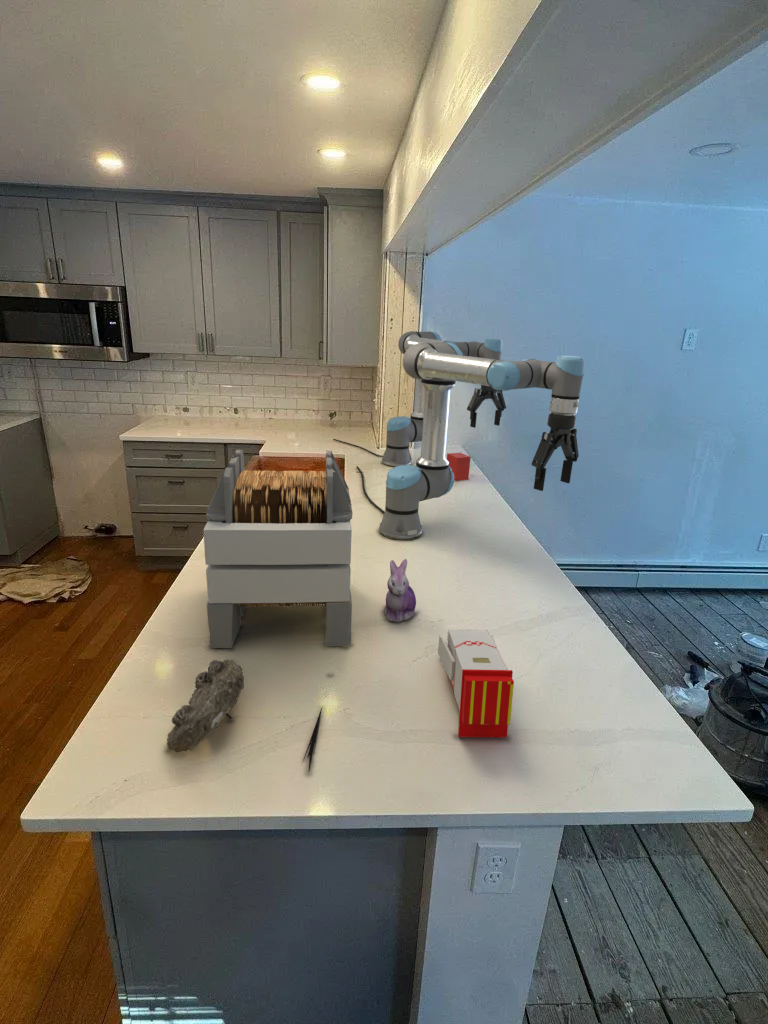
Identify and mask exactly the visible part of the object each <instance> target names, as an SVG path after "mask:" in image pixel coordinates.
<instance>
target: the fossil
mask: <svg viewBox="0 0 768 1024" xmlns="http://www.w3.org/2000/svg"><path fill="white" fill-rule="evenodd" d="M243 670H244V669H243V667H242V665H240V664H237V662H236V661H235V660H234V659H232V658H231V659H227V658H226V659H224V660H223V661H222V660H217V659H212V660H211V661H210V663H209V665H208V666H207V671H201V672H199V673H198V674H197V675H196V676H195V680H194V684H195V685H194V687H195V689H194V690H193V693H192V694H191V697H190V698H189V700H188V704H184V705H182V706H181V707H180V709H177V710H176V711H175V713H174V715H173V716H172V718H171V723H172V724H173V727H172V730H171V731H170V732H168V734H167V738H166V741H167V742H166V745H167V749H168V750H169V751H173V752H174V753H176V754H178V753H182V752H188V751H189V752H192V751H193V750H195V748H196V747H197V746H199V744H200V743H201V742H203V741H204V740H205V739H206V738H207V737H208V736H209V735H210V734H211V733H212V732H214V730H215V729H217V727H218V726H219V724H220V722H221V721H222V720H223V719H224V718H225V716H226V717H227V719H229V720H233V717H232V715H230V714H229V710H230V709H231V708H234V706H235V704H236V703H237V702H238V699H239V697H240V695H241V693H242V691H243V690H245V689H244V688H245V675H244V671H243Z"/></svg>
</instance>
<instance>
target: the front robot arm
mask: <svg viewBox="0 0 768 1024" xmlns="http://www.w3.org/2000/svg"><path fill="white" fill-rule="evenodd" d="M585 361H586V360H585V359H584V358H583V357H582V356H577V355H576V356H575V355H558V356H556V359H555V361H548V360H541V359H536V358H524V359H521V360H502V359H501V360H495V359H487V358H479V357H471V356H463V354H462V352H461V351H460V349H459V348H458V347H457V346H456V345H454V344H452V343H445V342H436V343H417V344H414V345H412V346H410V347H409V348H408V349H407V350H406V352H405V354H403V357H402V367H403V369H404V372H405V373H406V374H407V375H408V376H409V377H410V378H412V379H414V380H416V379H421V384H422V385H423V386H424V387H425V401H424V417H423V432H422V441H421V450H420V456H419V457H418V458H417V459H416V461H415V465H413V464H411V465H405V466H404V465H401V466H396V467H391V468H390V469H389V470H388V472H387V474H386V479H385V504H384V505H385V507H384V508H385V509H384V510H383V509H382V507H380V506H379V505H377V504H376V503H375V502H373V500H372V499H371V498H370V496H369V495H368V493H367V491H366V488H365V479H364V478H365V477H364V474H363V471H362V470H361V468H360V467H359V466H357V465H356V469H357V470H358V472H359V473H360V477H361V484H362V486H361V487H362V491H363V493H364V495H365V497H366V499H367V500H368V501H369V502H370V504H372V506H373V507H375V509H377V510H378V511H380V512H381V513H382V514H383V515H382V519H381V522H379V526H378V533H379V534H380V535H381V536H382V537H385V538H387V539H389V540H395V541H410V540H415V539H418V538H420V537H421V536H422V535H423V525H422V524H421V518H420V515H419V507H420V506H419V505H420V502H423V501H427V500H431V499H437V498H440V497H443V496H446V495H447V494H448V493H450V492H451V490H452V489H453V486H454V483H455V480H454V474H453V472H452V469H451V467H450V466H449V462H448V461H447V457H446V451H447V437H448V425H449V413H450V399H451V390H452V389H453V388H454V387H455V386H456V382H460V383H465V384H472V385H479V386H481V385H484V386H491V387H492V388H493V389H495V390H502V391H503V392H506V391H511V390H521V389H532V388H533V389H534V388H538V389H545V390H551V395H550V396H551V397H550V403H549V408H548V410H549V413H548V418H547V423H546V424H547V426H548V427H549V428H550V429H549V432H548V431H543V432H542V433H541V440H540V442H539V444H538V446H537V449H536V452H535V454H534V457H533V459H532V461H531V466H532V467H535V473H534V481H533V489H534V490H537V491H539V492H543V491H544V487H545V481H546V474H547V468H546V466H547V465H548V463H549V460H550V459H551V457H552V455H553V453H554V452H555V451H556V450H557V449H558V448H561V451H562V454H563V455H564V458H565V459H563V462H562V468H561V473H560V474H561V475H560V479H559V480H560V482H562V483H566V484H570V483H571V477H572V470H573V464H574V463H576V462H577V461H578V458H579V456H580V455H579V447H578V439H577V433H578V429H577V428H575V427H576V423H577V417H578V416H577V415H576V414H577V413H578V408H579V406H580V404H579V402H580V395H581V390H582V384H583V378H584V375H585V364H586V363H585Z"/></svg>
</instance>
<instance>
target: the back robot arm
mask: <svg viewBox="0 0 768 1024" xmlns="http://www.w3.org/2000/svg"><path fill="white" fill-rule="evenodd" d="M484 339H485V340H484V342H479V341H451V340H443V339H442V337H441V335H440V334H439V333H438V332H436V331H415V330H413V331H412V330H410V331H406V332H404V333H403V334H402V335H401V336H400V337H399V339H398V341H397V345H398V346H397V347H398V350H399V352H400V353H401V354H402V355H404V354H405V352H406V350H407V349H408V348H409V347H410V346H412V345H414V344H417V343H436V342H445V343H452V344H454V345H456V346H457V347H458V348H459V349H460V351H461V352H462V354H463V356H471V357H479V358H487V359H495V360H502V354H503V340H502V339H500V338H484ZM414 384H415V386H414V401H413V404H414V405H413V411H412V413H410V417H409V416H404V415H403V416H399V415H398V416H394V417H393V416H392V417H391V418H389V419H388V421H387V422H386V423H387V424H386V441H385V442H386V444H385V450H384V453H383V455H380V454H377V453H375V452H373V451H370V450H368V449H367V448H364V447H363V446H359V445H356V444H353V443H350V442H347V441H342V440H339V439H337V438H333V441H335V442H338V443H343V444H345V445H350V446H353V447H356V448H358V449H361V450H364V451H365V452H368V453H370V454H372V455H374V456H376V457H380V458H381V464H382V465H384V466H387V467H391V468H394V467H396V466H401V465H404V466H405V465H413V464H412V461H413V460H412V454H411V452H410V443H417V442H422V432H423V417H424V401H425V387H424V386H423V385H422V384H421V379H415V383H414ZM503 392H504V391H502V390H495V389H493V388H492V387H491V386H484V385H480V388H477V387H475V388H474V391H473V394H472V397H471V399H470V401H469V402H468V405H467V407H466V410H467V411H469V412H470V413H469V419H470V422H469V423H470V424H469V427H470V428H476V426H477V416H478V412H477V411H478V409H479V408H480V406H481V405H482V403H483V402H484V401H486V400H491V401H492V402H493V404H494V406H495V408H496V409H495V411H494V421H493V425H494V426H499V427H500V425H501V423H500V422H501V418H502V413H503V412H504V411H505V410H506V409H507V405H506V401H505V397H504V394H503Z"/></svg>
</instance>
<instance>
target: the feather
mask: <svg viewBox="0 0 768 1024" xmlns="http://www.w3.org/2000/svg"><path fill="white" fill-rule="evenodd" d="M329 675H330V676H331V675H332V674H331V673H330V674H329ZM322 710H323V707H321V708H320V710H319V713H318V716H317V719H316V723H315V725H314V728H313V731H312V733H311V737H310V739H309V742H308V745H307V748H306V751H305V754H304V757H303V760H302V763H301V767H302V765H303V763H304V761H305V758H308V759H309V760H308V762H307V763H308V764H307V766H308V771H310V770H311V766H312V765H311V764H312V760H313V757H315V756H314V755H315V751H316V749H315V746H317V739H318V733H319V729H320V722H321V717H322V712H323V711H322ZM313 754H314V755H313ZM306 755H307V757H306Z"/></svg>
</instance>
